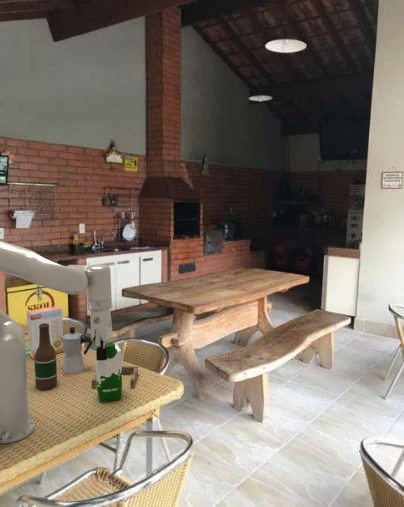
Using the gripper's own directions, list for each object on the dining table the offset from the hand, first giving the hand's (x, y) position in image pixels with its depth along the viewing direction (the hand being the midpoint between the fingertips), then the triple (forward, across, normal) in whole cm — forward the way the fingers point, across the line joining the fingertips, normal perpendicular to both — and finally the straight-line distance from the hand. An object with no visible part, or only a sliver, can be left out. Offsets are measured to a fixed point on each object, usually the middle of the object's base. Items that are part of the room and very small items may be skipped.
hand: (102, 359), depth 136 cm
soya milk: (+19, +13, +1) cm, 23 cm away
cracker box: (+19, +54, +37) cm, 68 cm away
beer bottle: (+19, +21, +26) cm, 38 cm away
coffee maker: (+19, +36, +19) cm, 45 cm away
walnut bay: (+19, +26, +1) cm, 32 cm away
